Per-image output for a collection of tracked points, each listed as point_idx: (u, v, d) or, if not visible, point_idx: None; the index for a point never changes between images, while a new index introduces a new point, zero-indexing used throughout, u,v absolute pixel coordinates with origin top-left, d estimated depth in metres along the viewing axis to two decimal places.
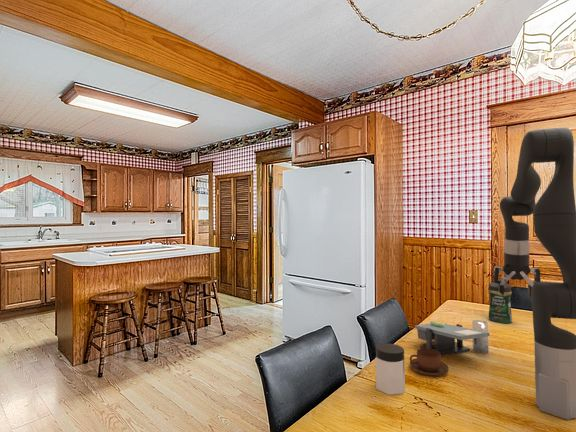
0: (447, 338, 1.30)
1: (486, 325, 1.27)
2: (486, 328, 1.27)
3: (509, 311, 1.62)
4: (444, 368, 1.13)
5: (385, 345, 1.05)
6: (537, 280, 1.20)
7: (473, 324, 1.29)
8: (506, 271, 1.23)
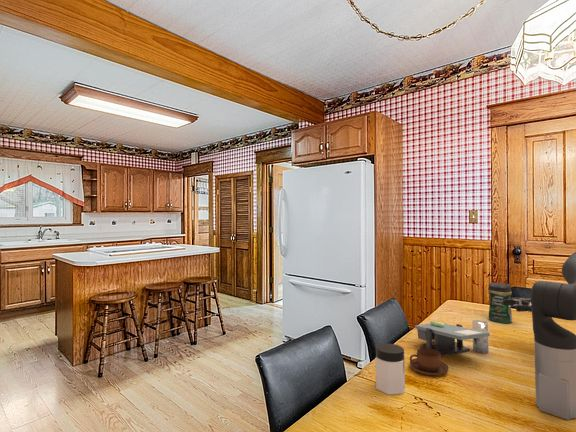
0: (447, 338, 1.30)
1: (486, 325, 1.27)
2: (486, 328, 1.27)
3: (509, 311, 1.62)
4: (444, 368, 1.13)
5: (385, 345, 1.05)
6: None
7: (473, 324, 1.29)
8: None
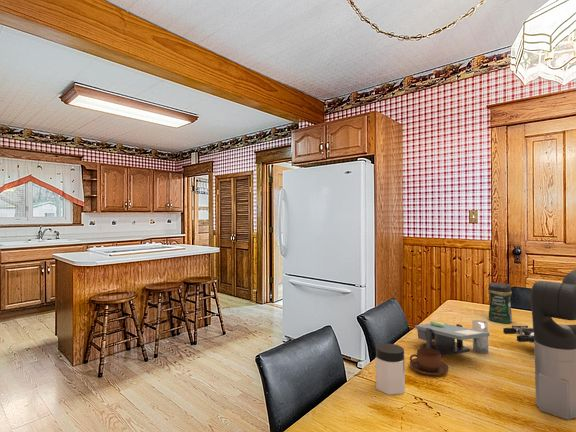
0: (447, 338, 1.30)
1: (486, 325, 1.27)
2: (486, 328, 1.27)
3: (509, 311, 1.62)
4: (444, 368, 1.14)
5: (385, 345, 1.05)
6: None
7: (473, 324, 1.29)
8: None
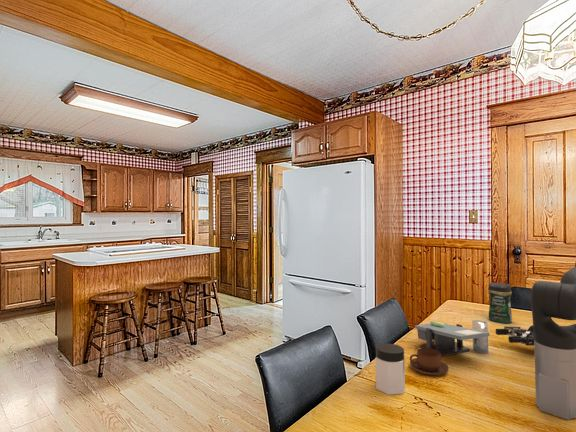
0: (447, 338, 1.30)
1: (486, 325, 1.27)
2: (486, 328, 1.27)
3: (509, 311, 1.62)
4: (444, 368, 1.14)
5: (385, 345, 1.05)
6: (529, 338, 1.23)
7: (473, 324, 1.29)
8: None
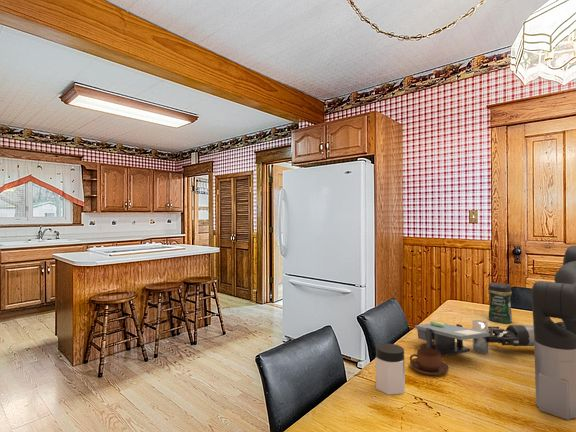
0: (447, 338, 1.30)
1: (486, 325, 1.27)
2: (486, 328, 1.27)
3: (509, 311, 1.62)
4: (444, 368, 1.14)
5: (385, 345, 1.05)
6: (506, 337, 1.23)
7: (473, 324, 1.29)
8: None
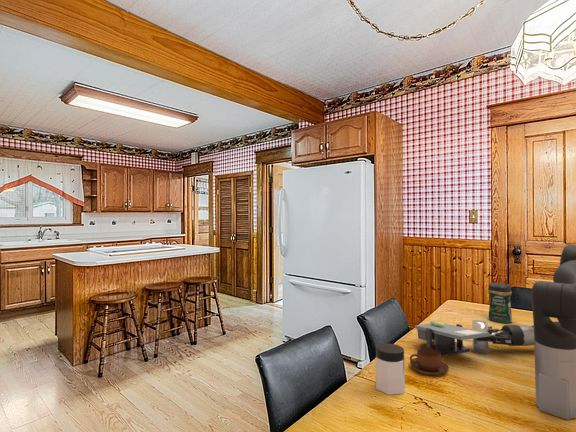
0: (447, 338, 1.30)
1: (486, 325, 1.27)
2: (486, 328, 1.27)
3: (509, 311, 1.62)
4: (444, 367, 1.14)
5: (385, 345, 1.05)
6: (497, 336, 1.24)
7: (473, 324, 1.29)
8: None
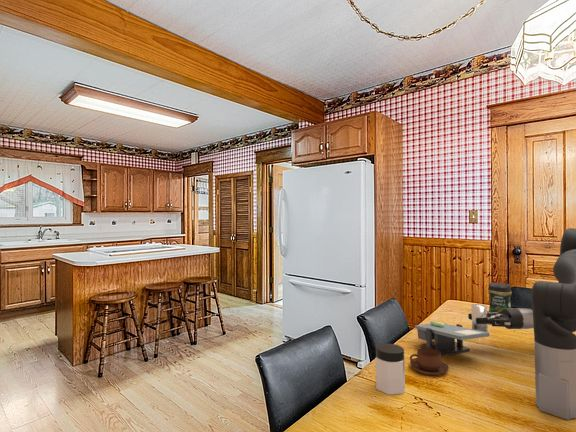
0: (447, 338, 1.30)
1: (485, 308, 1.27)
2: (485, 311, 1.27)
3: None
4: (444, 367, 1.14)
5: (385, 345, 1.05)
6: (496, 319, 1.24)
7: (472, 307, 1.29)
8: None
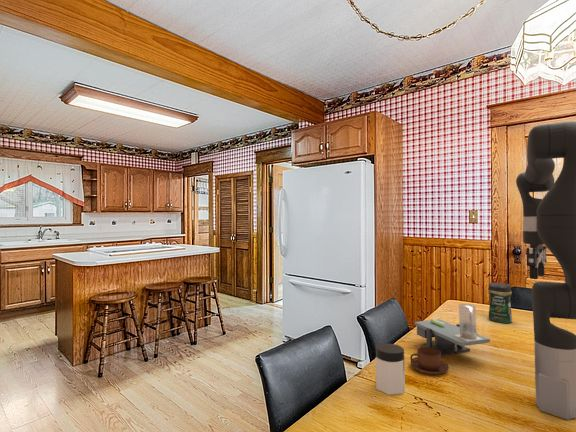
0: None
1: (474, 308, 1.18)
2: (474, 312, 1.18)
3: (509, 311, 1.62)
4: (444, 367, 1.14)
5: (385, 345, 1.05)
6: None
7: (460, 308, 1.20)
8: (537, 251, 1.13)
